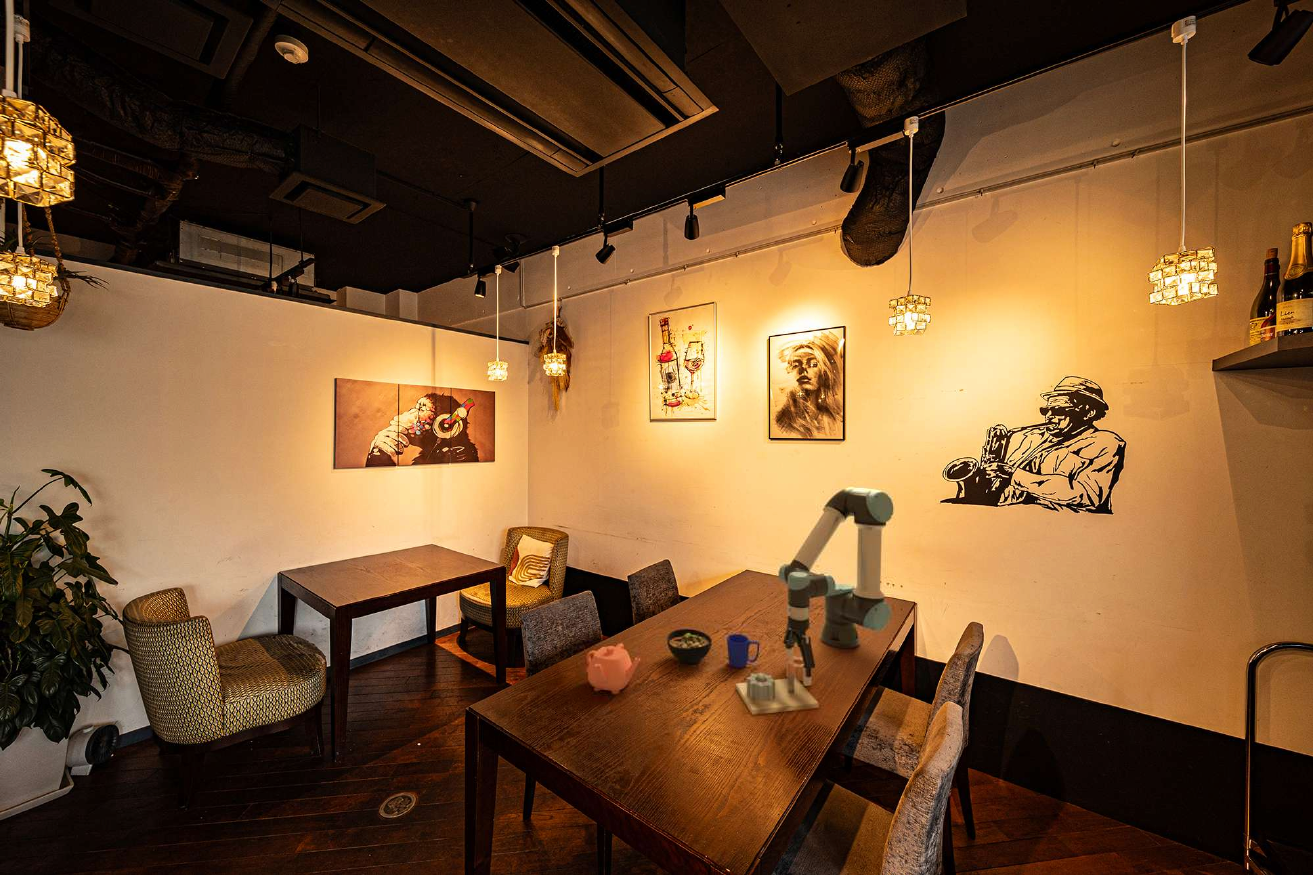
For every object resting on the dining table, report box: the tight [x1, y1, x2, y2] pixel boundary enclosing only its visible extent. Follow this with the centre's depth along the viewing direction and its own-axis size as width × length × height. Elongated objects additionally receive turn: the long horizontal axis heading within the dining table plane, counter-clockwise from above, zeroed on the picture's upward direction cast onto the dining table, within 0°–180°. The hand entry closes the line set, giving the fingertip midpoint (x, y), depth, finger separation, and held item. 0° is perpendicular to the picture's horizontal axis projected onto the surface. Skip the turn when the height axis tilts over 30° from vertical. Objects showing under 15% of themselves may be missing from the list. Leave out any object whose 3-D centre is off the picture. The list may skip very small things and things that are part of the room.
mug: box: [726, 633, 760, 669], centre depth 183 cm, size 8×12×10 cm
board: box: [735, 673, 819, 716], centre depth 161 cm, size 22×16×7 cm
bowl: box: [666, 628, 713, 667], centre depth 187 cm, size 17×17×10 cm
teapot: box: [586, 642, 641, 695], centre depth 168 cm, size 16×17×14 cm
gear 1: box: [746, 672, 776, 702], centre depth 160 cm, size 9×9×5 cm
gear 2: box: [785, 655, 813, 682], centre depth 175 cm, size 9×9×5 cm
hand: (798, 675), depth 175 cm, fingers open, 13 cm apart
